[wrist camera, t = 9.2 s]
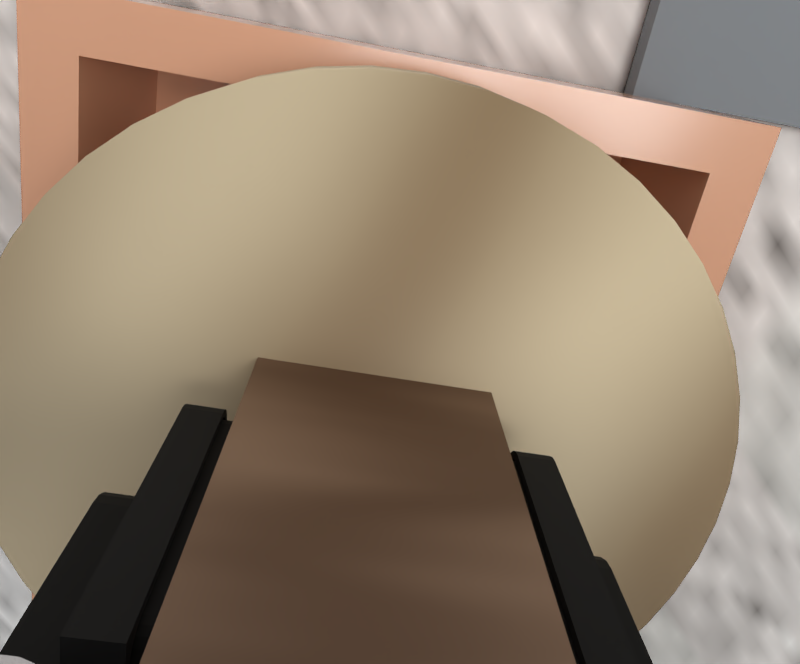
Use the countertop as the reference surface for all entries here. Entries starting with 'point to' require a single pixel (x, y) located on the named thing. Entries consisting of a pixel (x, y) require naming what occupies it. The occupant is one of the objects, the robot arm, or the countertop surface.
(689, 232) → the salmon open box
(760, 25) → the mat
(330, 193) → the lid
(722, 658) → the countertop surface
